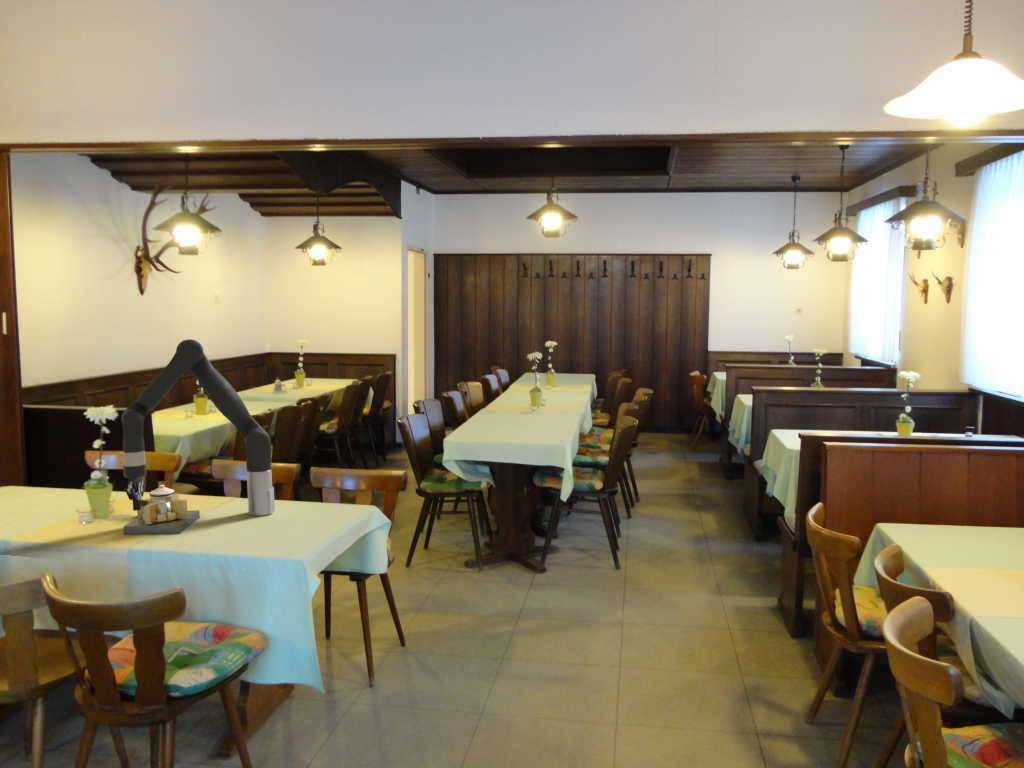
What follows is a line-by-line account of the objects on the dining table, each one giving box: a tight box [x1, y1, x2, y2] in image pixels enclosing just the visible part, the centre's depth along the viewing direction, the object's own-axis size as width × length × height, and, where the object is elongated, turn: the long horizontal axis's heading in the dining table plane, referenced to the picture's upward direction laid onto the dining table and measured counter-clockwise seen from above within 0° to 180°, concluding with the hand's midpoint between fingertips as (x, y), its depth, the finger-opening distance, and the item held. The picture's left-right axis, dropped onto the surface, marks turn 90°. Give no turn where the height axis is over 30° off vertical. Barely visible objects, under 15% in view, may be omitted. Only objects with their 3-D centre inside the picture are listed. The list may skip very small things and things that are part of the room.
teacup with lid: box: [148, 484, 176, 503], centre depth 313 cm, size 12×9×12 cm
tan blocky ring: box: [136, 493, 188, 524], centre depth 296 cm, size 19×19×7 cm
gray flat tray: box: [123, 500, 201, 536], centre depth 296 cm, size 20×20×9 cm
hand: (137, 509), depth 293 cm, fingers closed
